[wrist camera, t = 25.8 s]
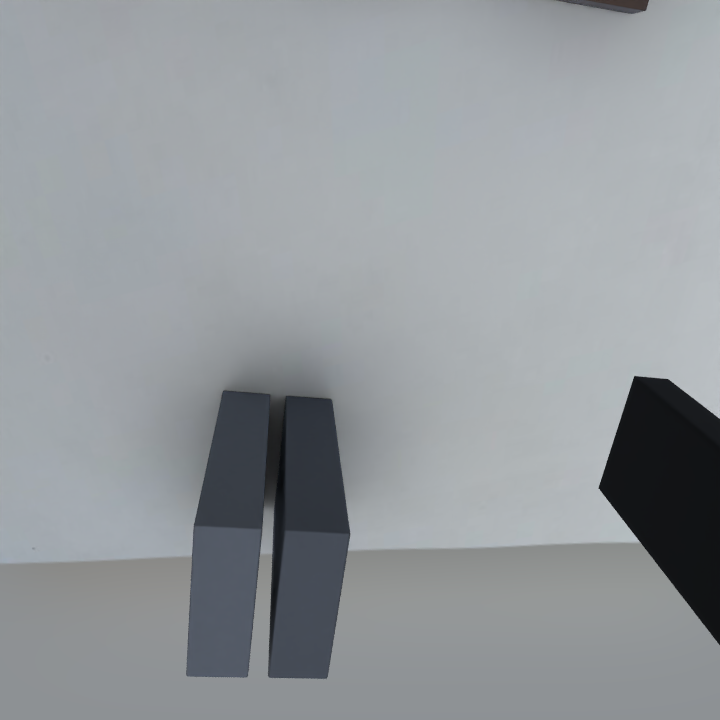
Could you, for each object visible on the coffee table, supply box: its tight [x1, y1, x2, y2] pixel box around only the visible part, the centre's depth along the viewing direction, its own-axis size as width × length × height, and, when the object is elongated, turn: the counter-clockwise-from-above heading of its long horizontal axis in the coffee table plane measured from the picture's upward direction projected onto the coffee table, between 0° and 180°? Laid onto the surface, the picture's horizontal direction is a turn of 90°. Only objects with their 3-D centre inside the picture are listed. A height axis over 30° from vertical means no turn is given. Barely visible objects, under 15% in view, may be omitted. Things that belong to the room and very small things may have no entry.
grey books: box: [186, 391, 350, 679], centre depth 37 cm, size 7×9×14 cm
